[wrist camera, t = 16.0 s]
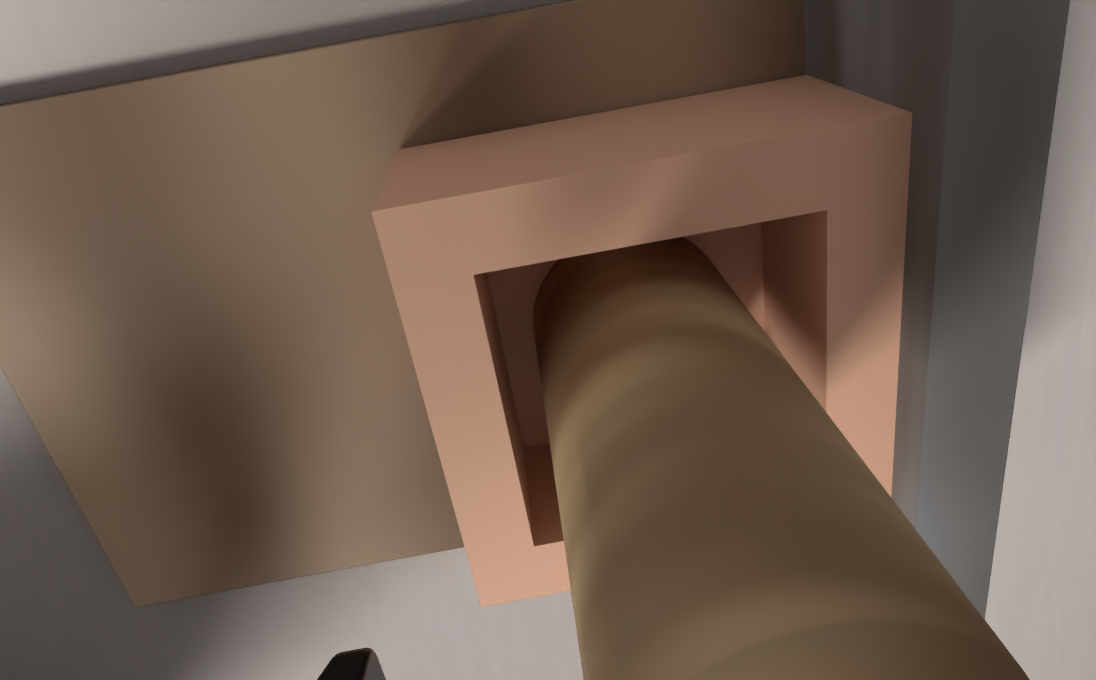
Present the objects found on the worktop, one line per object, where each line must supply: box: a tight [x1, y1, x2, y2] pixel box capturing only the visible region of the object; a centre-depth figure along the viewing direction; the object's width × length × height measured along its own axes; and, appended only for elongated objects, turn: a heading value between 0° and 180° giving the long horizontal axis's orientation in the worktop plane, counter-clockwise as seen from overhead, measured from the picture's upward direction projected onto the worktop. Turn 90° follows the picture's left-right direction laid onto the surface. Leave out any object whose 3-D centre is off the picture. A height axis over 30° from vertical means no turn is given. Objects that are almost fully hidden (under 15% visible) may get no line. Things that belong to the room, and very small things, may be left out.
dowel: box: [533, 237, 1029, 680], centre depth 11 cm, size 4×4×10 cm
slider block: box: [371, 75, 912, 607], centre depth 15 cm, size 8×8×4 cm
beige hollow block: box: [0, 0, 1070, 619], centre depth 15 cm, size 20×12×6 cm, turn 99°
